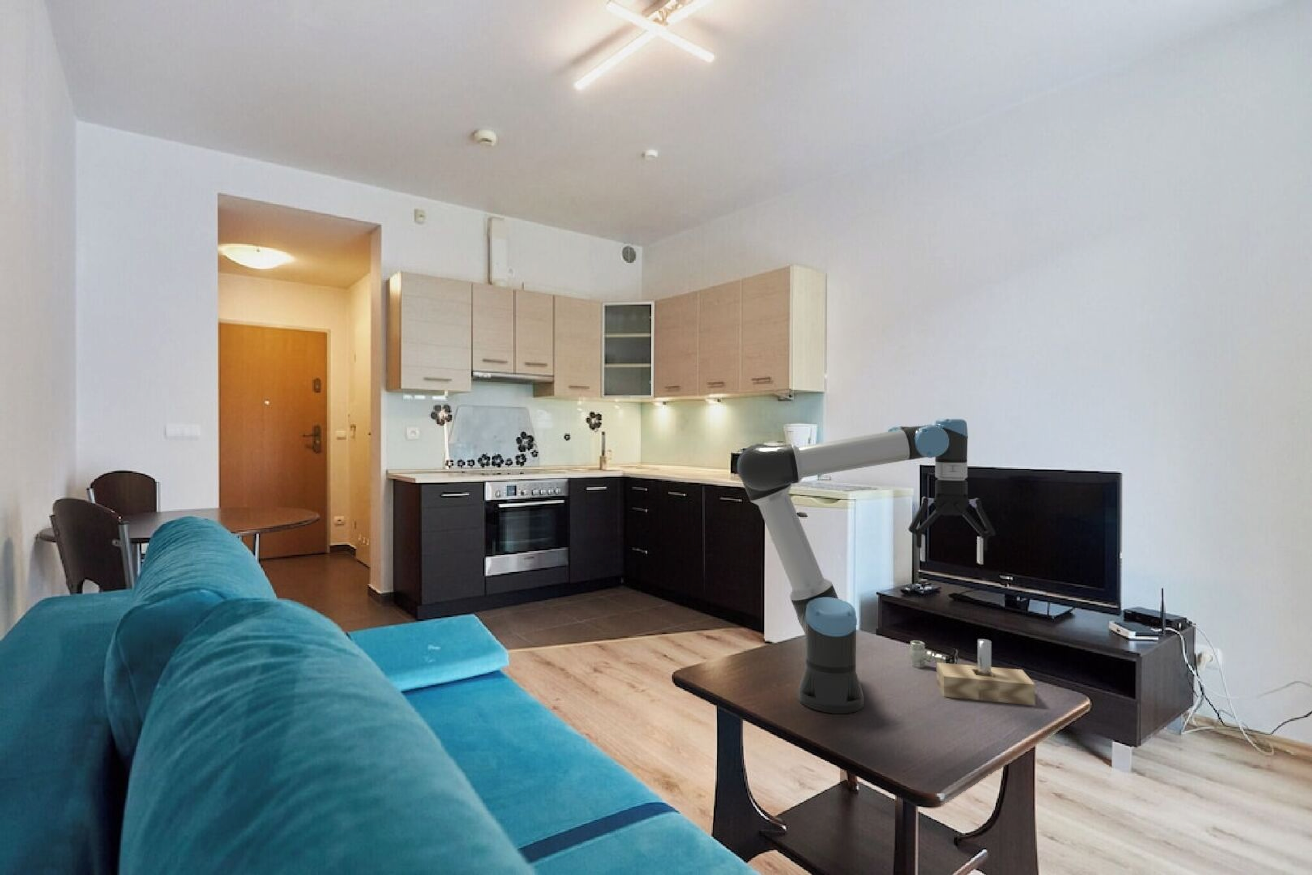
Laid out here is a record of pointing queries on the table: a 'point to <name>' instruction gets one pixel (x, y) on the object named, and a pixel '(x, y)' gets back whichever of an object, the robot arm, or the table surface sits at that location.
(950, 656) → the valve
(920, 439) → the robot arm
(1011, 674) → the hole block
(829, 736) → the table surface
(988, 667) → the peg
